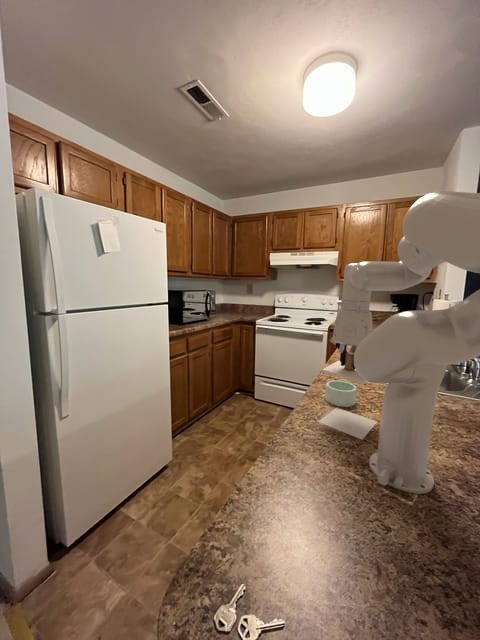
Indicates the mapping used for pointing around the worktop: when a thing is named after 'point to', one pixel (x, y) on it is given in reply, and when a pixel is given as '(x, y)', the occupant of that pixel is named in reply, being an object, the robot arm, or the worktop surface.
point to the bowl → (341, 393)
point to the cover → (344, 369)
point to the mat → (348, 422)
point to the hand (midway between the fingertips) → (349, 365)
